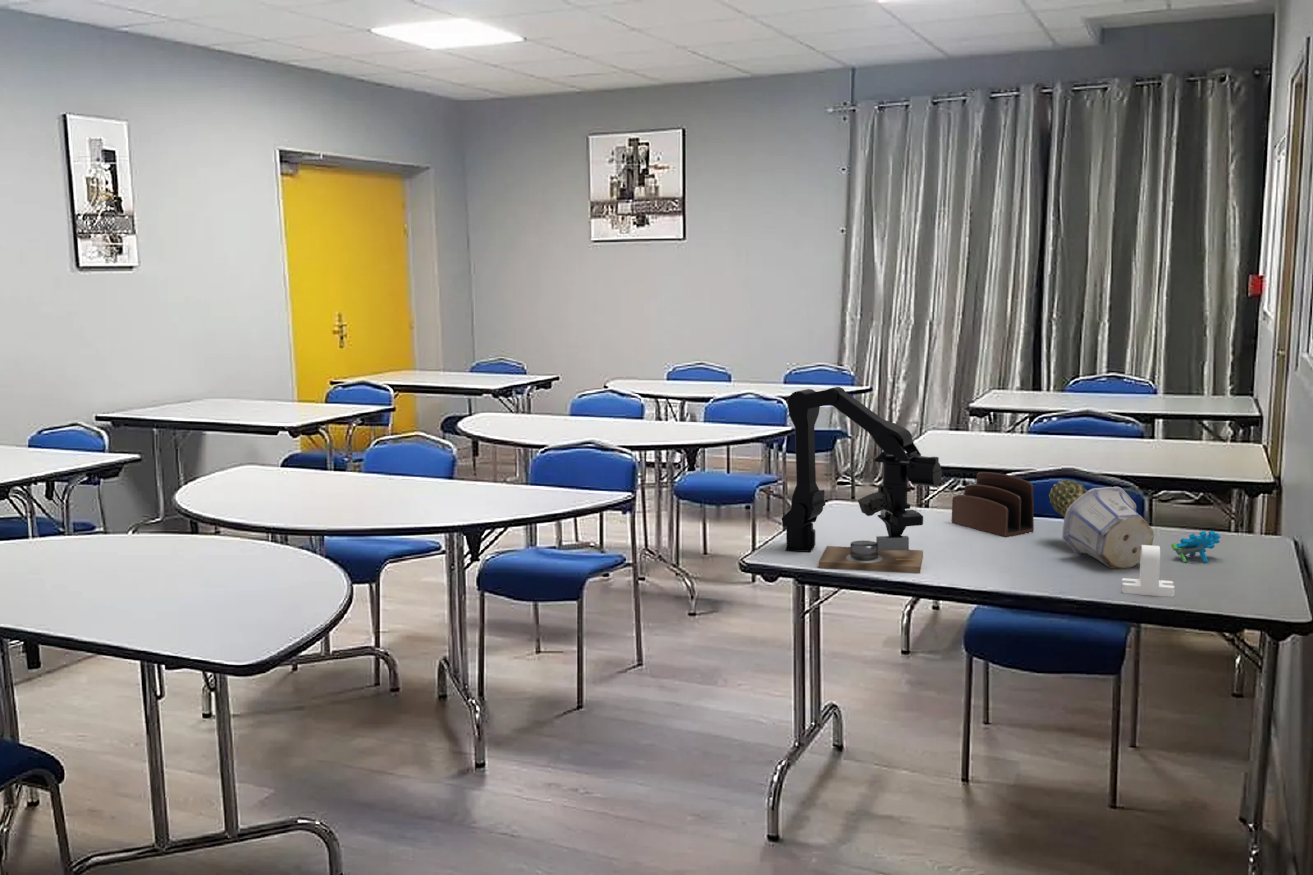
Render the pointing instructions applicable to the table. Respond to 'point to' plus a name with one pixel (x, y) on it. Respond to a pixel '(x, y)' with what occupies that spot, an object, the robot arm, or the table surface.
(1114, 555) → the potted plant
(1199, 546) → the blue spiky toy dinosaur
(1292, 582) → the table surface
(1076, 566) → the table surface
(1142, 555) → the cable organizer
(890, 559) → the base plate
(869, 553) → the grey rotary lever handle
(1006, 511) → the letter holder
